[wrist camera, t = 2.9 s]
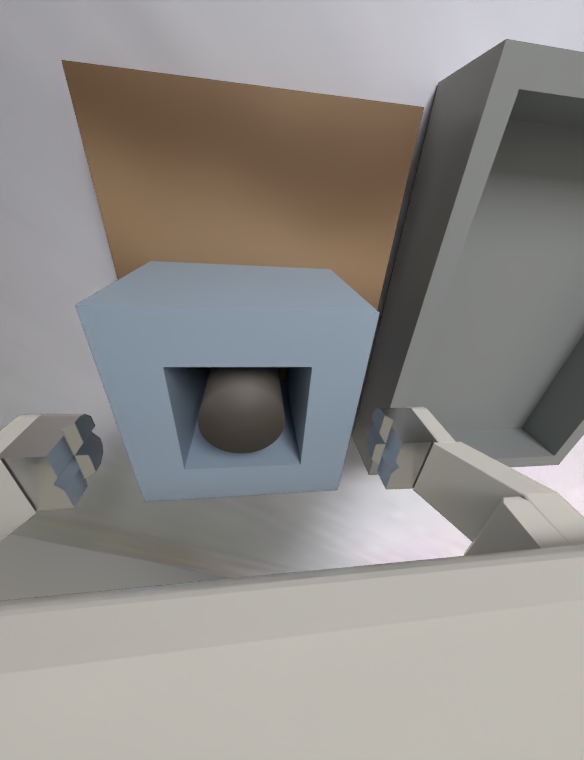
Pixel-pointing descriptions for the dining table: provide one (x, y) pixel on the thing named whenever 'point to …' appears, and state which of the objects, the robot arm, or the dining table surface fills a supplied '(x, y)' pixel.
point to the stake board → (243, 196)
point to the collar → (229, 349)
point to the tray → (492, 264)
